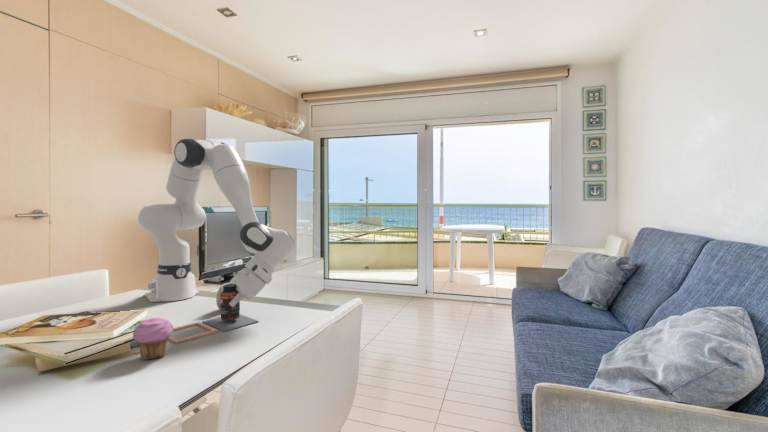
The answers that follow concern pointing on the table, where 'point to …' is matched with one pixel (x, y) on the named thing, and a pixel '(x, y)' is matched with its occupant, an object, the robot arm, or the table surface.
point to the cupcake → (153, 337)
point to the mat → (229, 323)
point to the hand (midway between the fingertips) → (228, 302)
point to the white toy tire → (219, 295)
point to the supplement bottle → (226, 309)
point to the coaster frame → (194, 335)
